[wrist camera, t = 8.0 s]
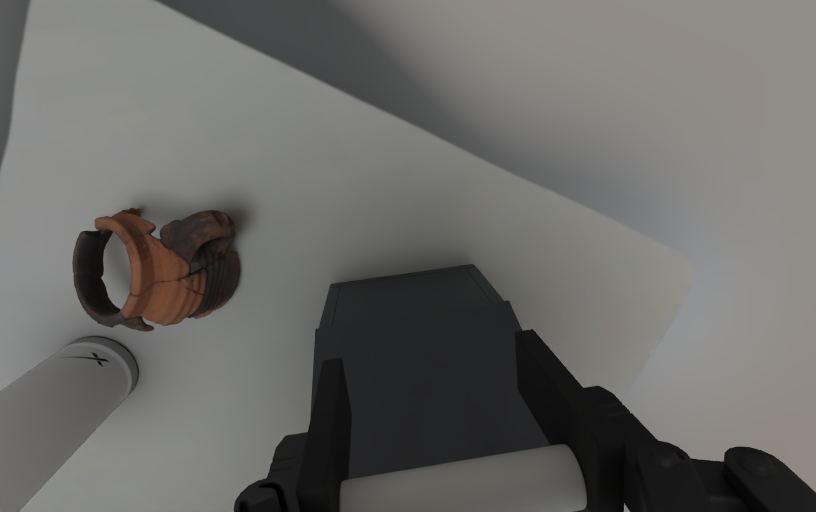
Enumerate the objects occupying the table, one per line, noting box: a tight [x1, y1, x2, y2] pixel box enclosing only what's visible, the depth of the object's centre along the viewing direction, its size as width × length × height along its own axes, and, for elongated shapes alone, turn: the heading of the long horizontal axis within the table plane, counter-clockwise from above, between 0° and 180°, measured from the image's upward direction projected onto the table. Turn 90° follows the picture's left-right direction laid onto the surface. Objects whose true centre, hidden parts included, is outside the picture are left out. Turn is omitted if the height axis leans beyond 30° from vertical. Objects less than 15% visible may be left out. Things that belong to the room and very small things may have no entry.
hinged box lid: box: [310, 301, 590, 512], centre depth 19 cm, size 16×12×8 cm
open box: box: [319, 264, 504, 328], centre depth 34 cm, size 15×12×9 cm
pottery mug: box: [73, 208, 239, 331], centre depth 31 cm, size 12×10×8 cm
